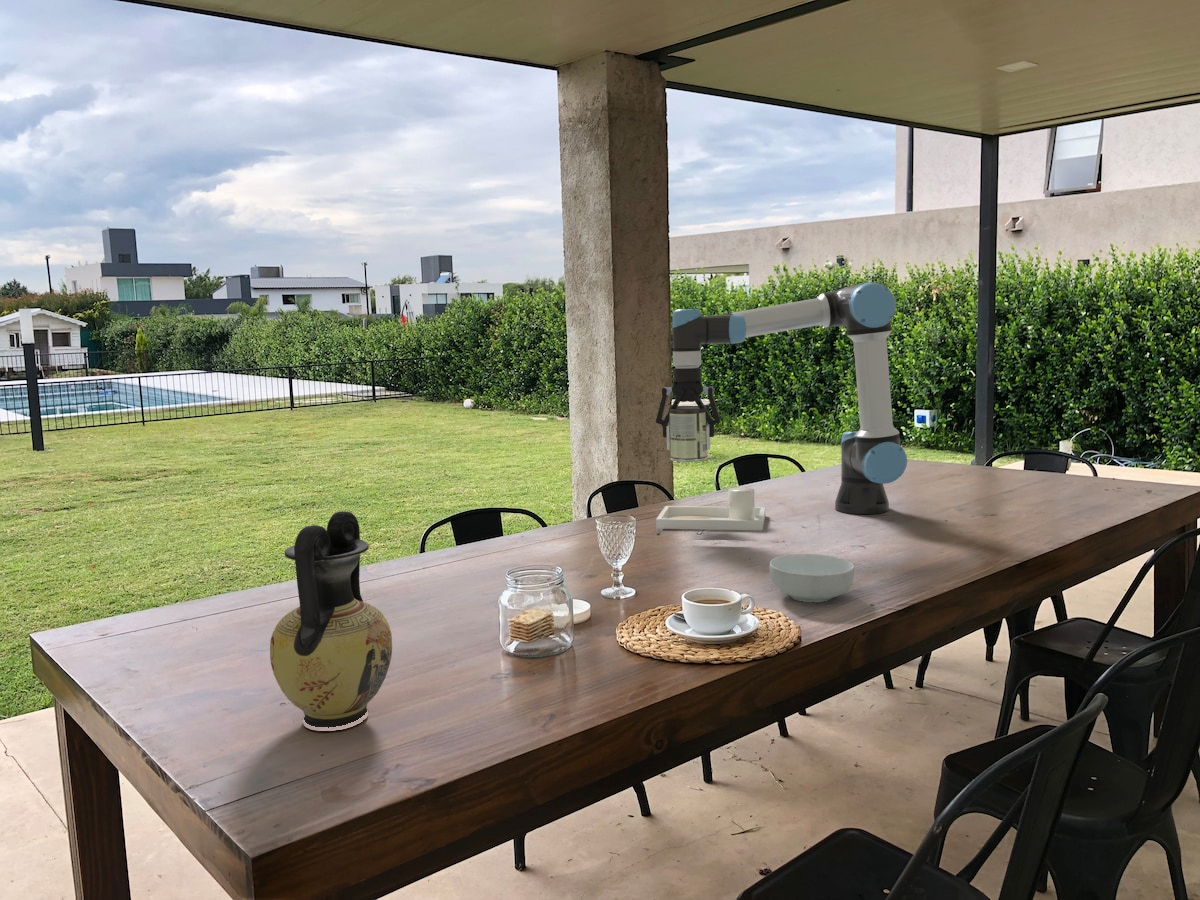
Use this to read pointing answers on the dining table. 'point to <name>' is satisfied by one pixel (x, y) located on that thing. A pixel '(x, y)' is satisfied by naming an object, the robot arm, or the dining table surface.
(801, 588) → the cereal bowl
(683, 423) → the coffee can
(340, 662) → the amphora
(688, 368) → the robot arm
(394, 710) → the dining table surface
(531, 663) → the dining table surface
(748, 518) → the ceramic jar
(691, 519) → the tray
